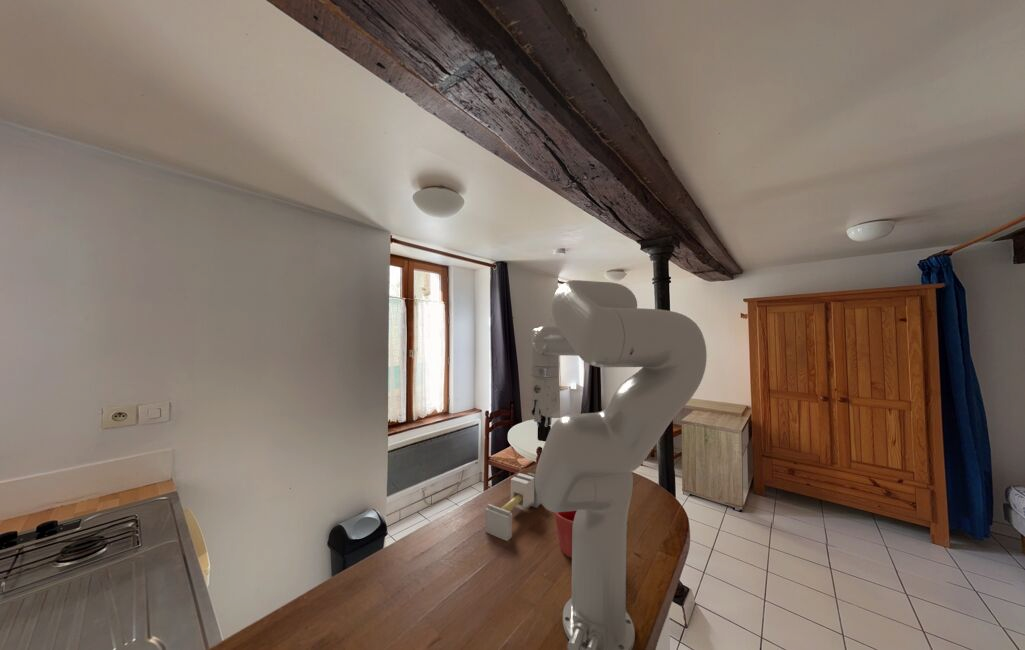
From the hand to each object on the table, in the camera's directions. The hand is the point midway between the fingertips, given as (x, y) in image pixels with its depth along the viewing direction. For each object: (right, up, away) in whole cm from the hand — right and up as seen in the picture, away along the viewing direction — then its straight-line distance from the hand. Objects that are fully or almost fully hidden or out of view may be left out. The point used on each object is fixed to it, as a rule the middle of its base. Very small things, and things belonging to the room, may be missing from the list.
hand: (544, 440), depth 86 cm
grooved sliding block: (-6, -22, +8) cm, 24 cm away
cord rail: (-7, -24, +6) cm, 26 cm away
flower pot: (+7, -24, -8) cm, 26 cm away
